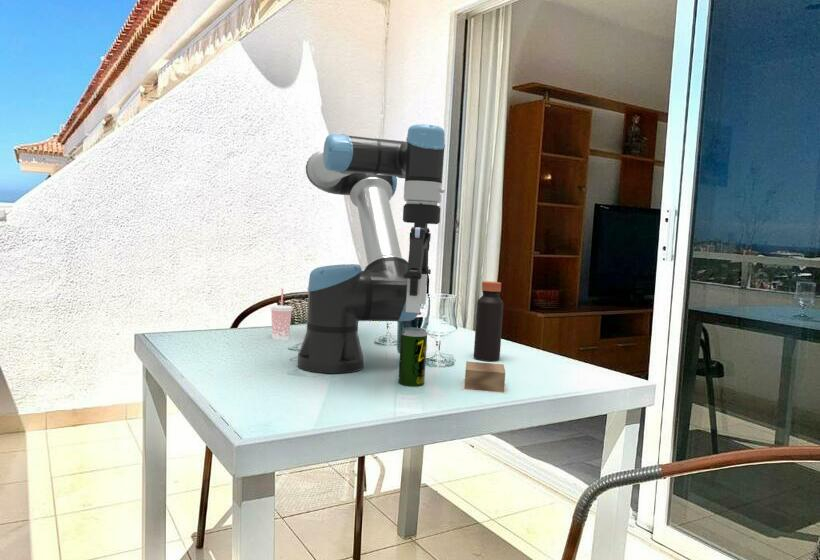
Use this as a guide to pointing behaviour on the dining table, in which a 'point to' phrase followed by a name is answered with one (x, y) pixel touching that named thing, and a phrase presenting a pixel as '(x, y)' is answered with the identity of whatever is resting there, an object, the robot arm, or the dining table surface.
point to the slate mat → (481, 390)
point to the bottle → (489, 323)
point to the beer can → (412, 357)
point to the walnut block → (484, 376)
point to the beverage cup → (281, 320)
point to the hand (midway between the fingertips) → (416, 308)
